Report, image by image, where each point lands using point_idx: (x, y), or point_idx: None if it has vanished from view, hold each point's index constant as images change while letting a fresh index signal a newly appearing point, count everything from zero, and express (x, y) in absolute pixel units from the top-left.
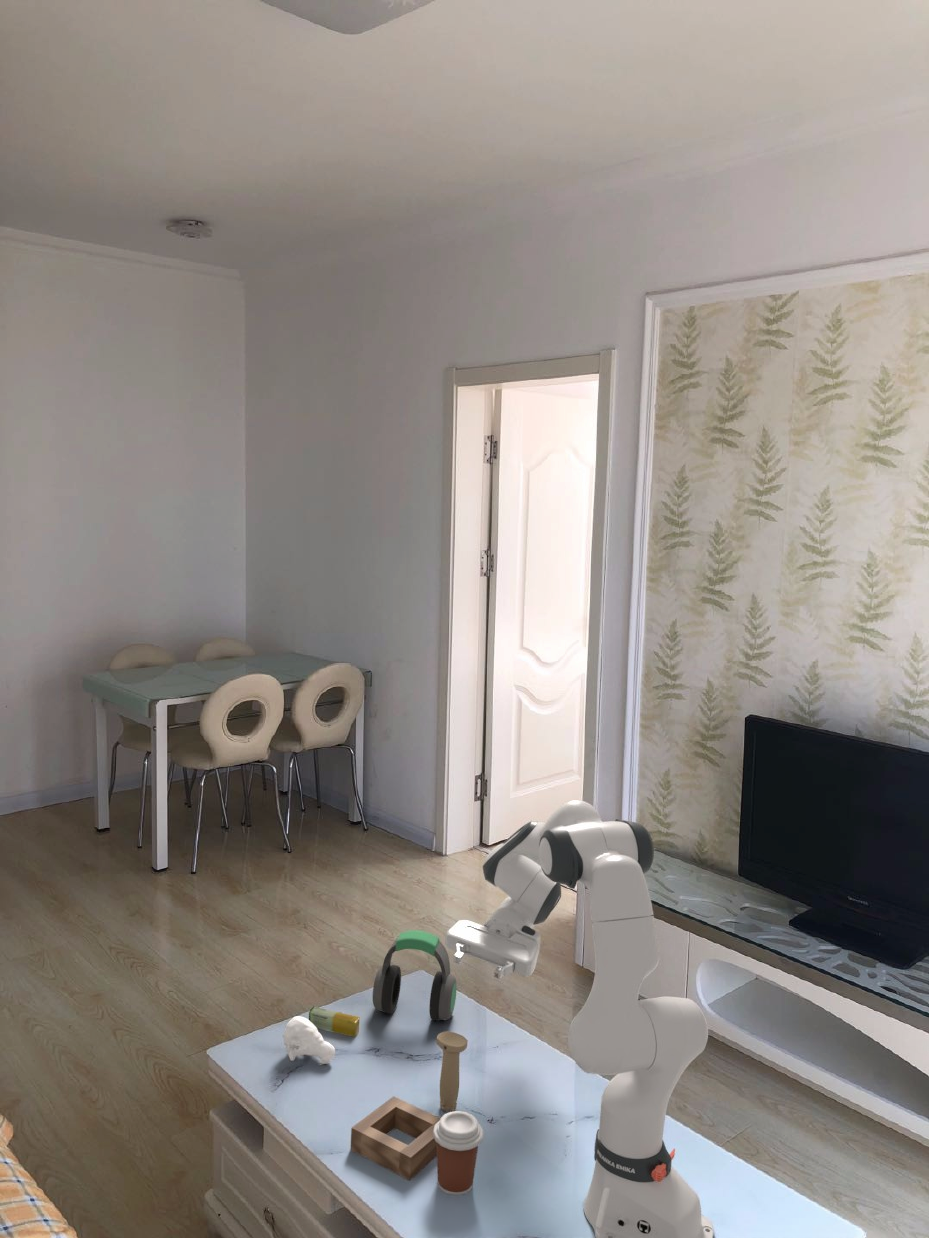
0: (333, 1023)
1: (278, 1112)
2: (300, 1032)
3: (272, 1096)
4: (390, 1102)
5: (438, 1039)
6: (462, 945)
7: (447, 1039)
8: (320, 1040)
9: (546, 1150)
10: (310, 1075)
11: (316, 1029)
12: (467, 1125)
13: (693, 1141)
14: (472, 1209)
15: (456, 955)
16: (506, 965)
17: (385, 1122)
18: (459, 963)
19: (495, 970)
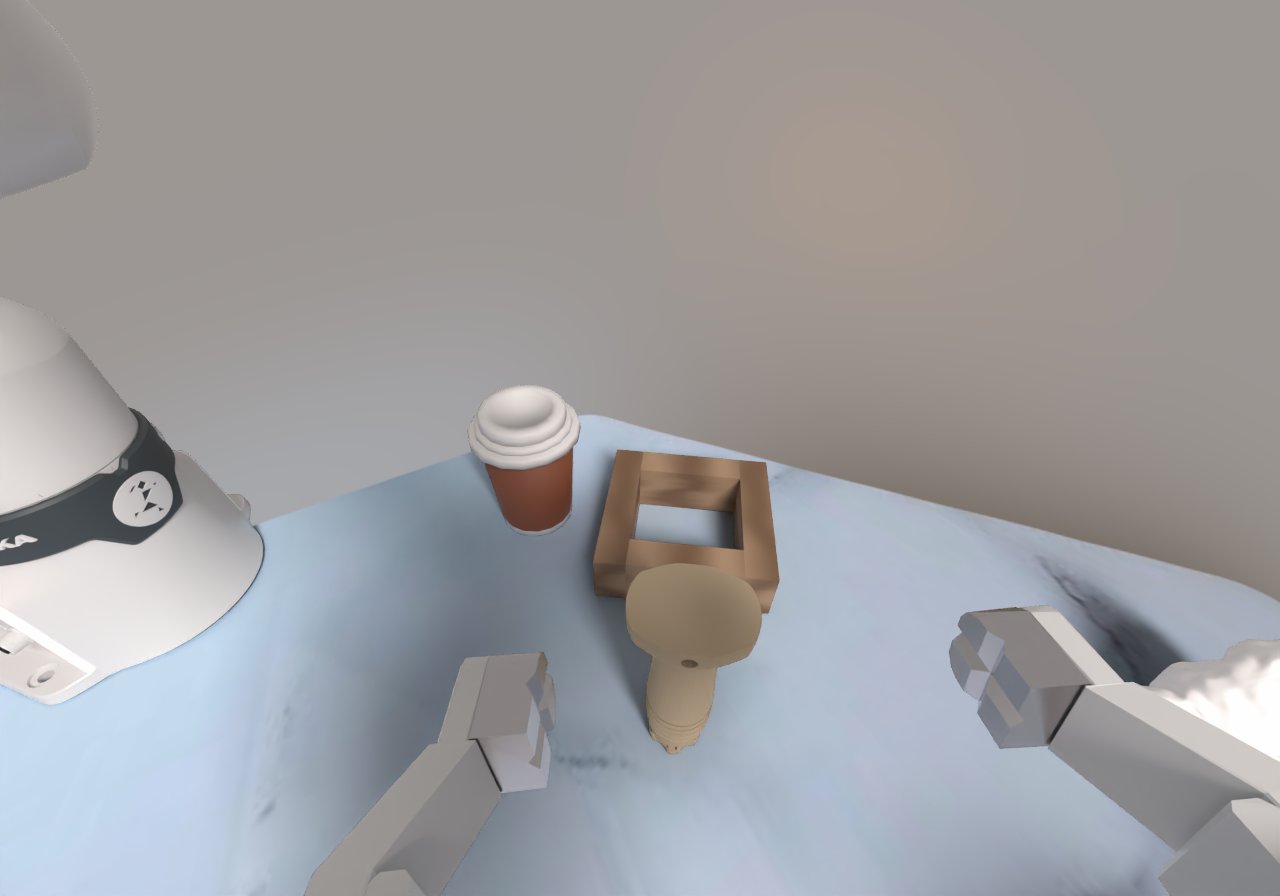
0: None
1: (952, 514)
2: (1242, 649)
3: (1018, 544)
4: (766, 558)
5: (734, 576)
6: (1262, 837)
7: (707, 595)
8: (1188, 692)
9: (346, 699)
10: None
11: (1251, 698)
12: (501, 413)
13: None
14: (488, 476)
15: (1030, 615)
16: (411, 814)
17: (739, 533)
18: (952, 660)
19: (534, 657)
